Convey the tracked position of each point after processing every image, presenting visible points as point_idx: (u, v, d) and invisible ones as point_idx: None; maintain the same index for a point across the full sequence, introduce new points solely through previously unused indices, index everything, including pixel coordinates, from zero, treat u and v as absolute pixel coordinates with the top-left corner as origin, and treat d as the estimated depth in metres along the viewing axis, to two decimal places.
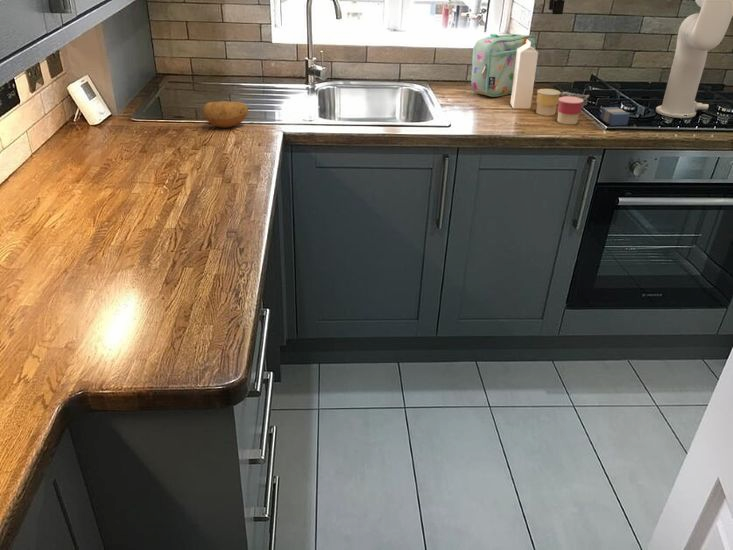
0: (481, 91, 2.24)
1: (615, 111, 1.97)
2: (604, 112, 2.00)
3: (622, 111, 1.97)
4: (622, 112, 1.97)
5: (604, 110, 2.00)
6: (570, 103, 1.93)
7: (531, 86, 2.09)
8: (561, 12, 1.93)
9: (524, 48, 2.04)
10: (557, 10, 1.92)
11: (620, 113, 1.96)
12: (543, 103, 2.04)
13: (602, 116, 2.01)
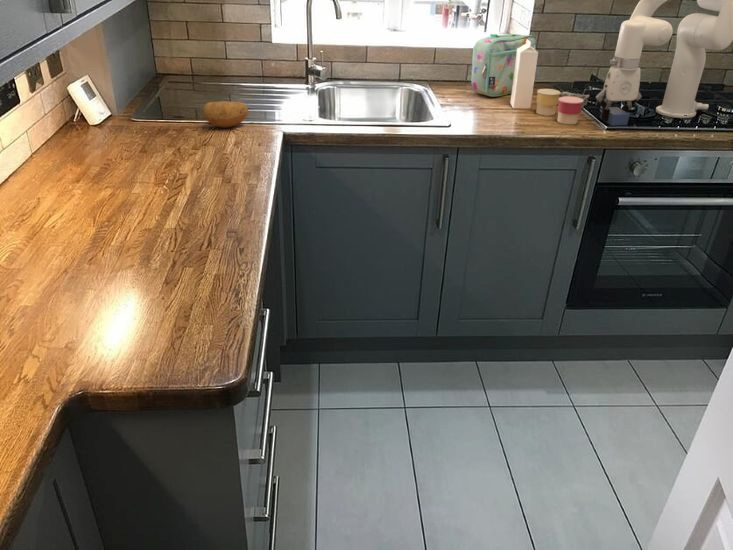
0: (481, 91, 2.24)
1: (615, 111, 1.97)
2: None
3: (622, 111, 1.97)
4: (622, 112, 1.97)
5: None
6: (570, 103, 1.93)
7: (531, 86, 2.09)
8: (605, 119, 1.98)
9: (524, 48, 2.04)
10: (602, 116, 1.99)
11: (620, 113, 1.96)
12: (543, 103, 2.04)
13: None
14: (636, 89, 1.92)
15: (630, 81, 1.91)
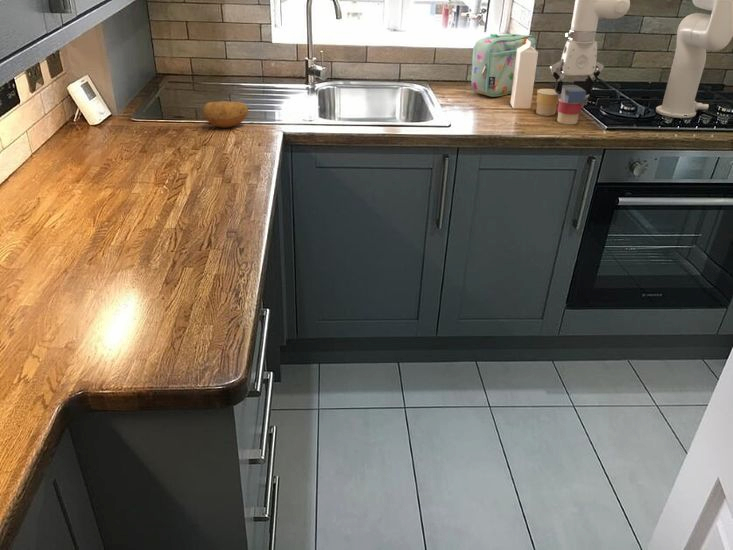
0: (481, 91, 2.24)
1: (572, 88, 1.94)
2: None
3: (579, 88, 1.94)
4: (579, 89, 1.93)
5: None
6: (570, 103, 1.93)
7: (531, 86, 2.09)
8: (558, 92, 1.93)
9: (524, 48, 2.04)
10: (555, 89, 1.94)
11: (577, 90, 1.92)
12: (543, 103, 2.04)
13: (560, 94, 1.98)
14: (593, 63, 1.88)
15: (587, 55, 1.87)
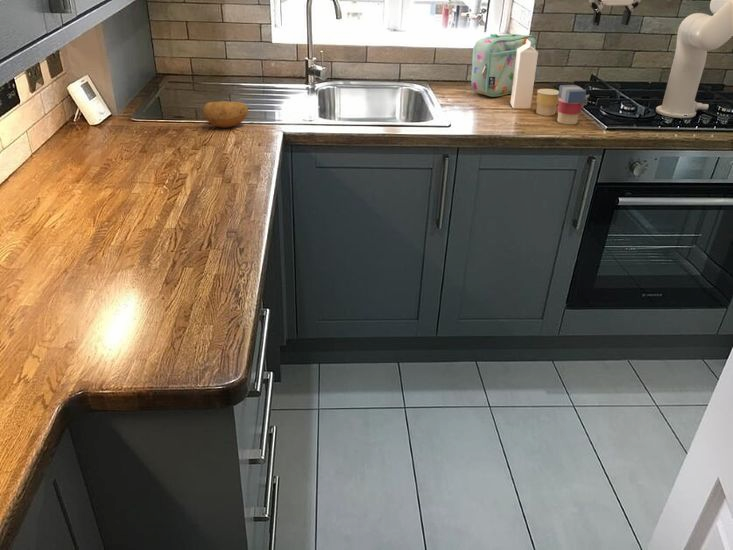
0: (481, 91, 2.24)
1: (572, 88, 1.94)
2: (561, 90, 1.96)
3: (579, 88, 1.94)
4: (579, 89, 1.93)
5: (561, 88, 1.96)
6: (570, 103, 1.93)
7: (531, 86, 2.09)
8: (596, 23, 1.92)
9: (524, 48, 2.04)
10: (593, 21, 1.93)
11: (577, 90, 1.92)
12: (543, 103, 2.04)
13: (560, 94, 1.98)
14: None
15: None
